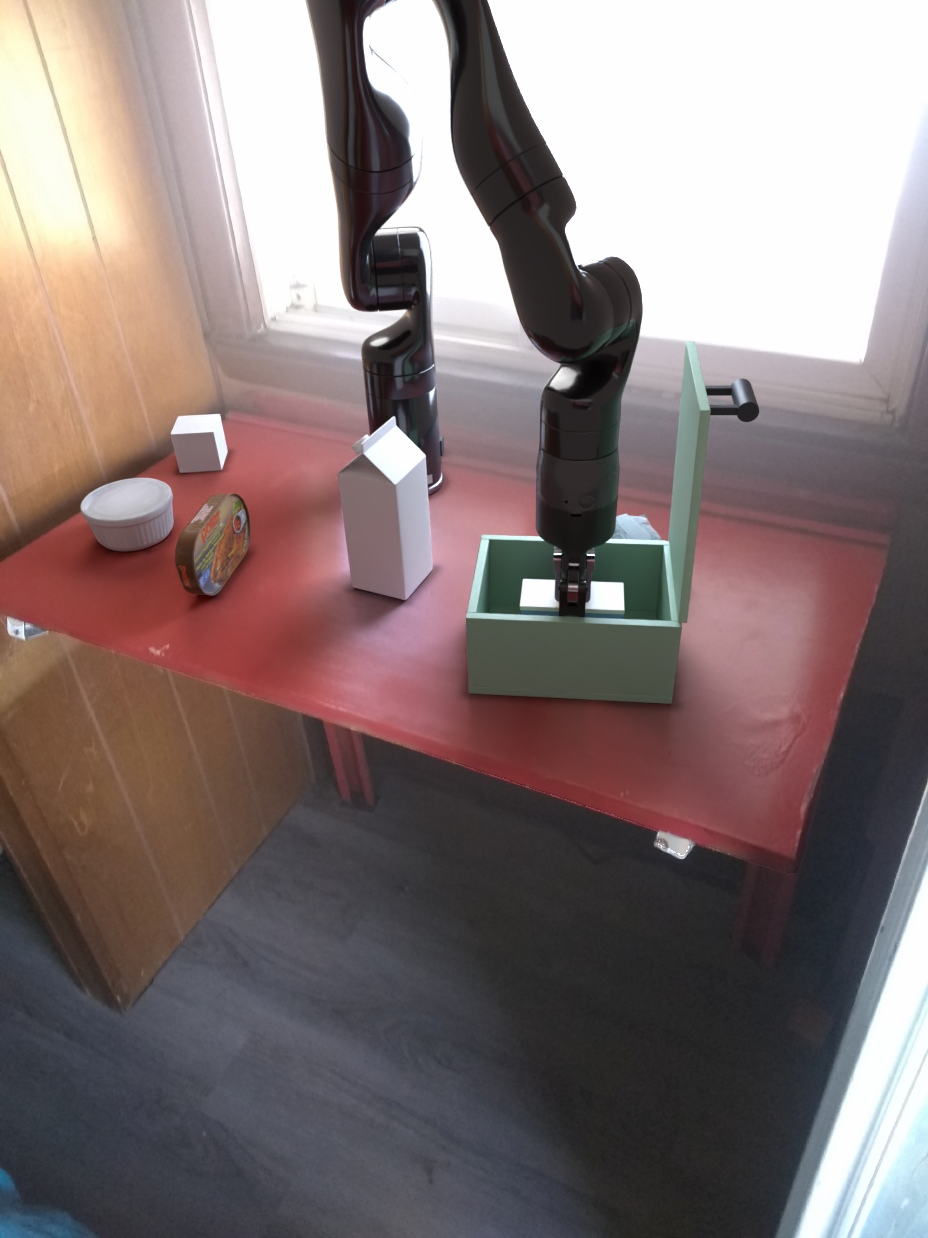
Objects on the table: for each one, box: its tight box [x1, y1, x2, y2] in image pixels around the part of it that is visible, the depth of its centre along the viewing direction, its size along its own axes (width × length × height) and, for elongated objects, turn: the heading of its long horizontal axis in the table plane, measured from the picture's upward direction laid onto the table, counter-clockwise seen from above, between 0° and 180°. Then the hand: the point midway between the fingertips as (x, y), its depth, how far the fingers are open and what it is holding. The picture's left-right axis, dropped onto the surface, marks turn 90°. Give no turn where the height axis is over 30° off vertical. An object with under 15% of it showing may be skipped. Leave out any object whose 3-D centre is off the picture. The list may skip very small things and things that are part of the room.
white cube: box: [170, 413, 229, 474], centre depth 132 cm, size 6×6×6 cm
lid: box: [667, 340, 760, 624], centre depth 83 cm, size 21×15×5 cm
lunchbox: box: [465, 534, 683, 705], centre depth 93 cm, size 20×15×9 cm
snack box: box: [520, 579, 625, 619], centre depth 94 cm, size 5×10×6 cm, turn 83°
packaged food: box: [610, 513, 665, 541], centre depth 107 cm, size 9×12×5 cm
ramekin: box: [79, 477, 175, 552], centre depth 117 cm, size 11×11×5 cm
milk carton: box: [337, 416, 434, 601], centre depth 102 cm, size 7×7×19 cm
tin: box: [174, 492, 252, 597], centre depth 108 cm, size 15×3×8 cm, turn 168°
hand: (570, 629), depth 95 cm, fingers open, 6 cm apart
